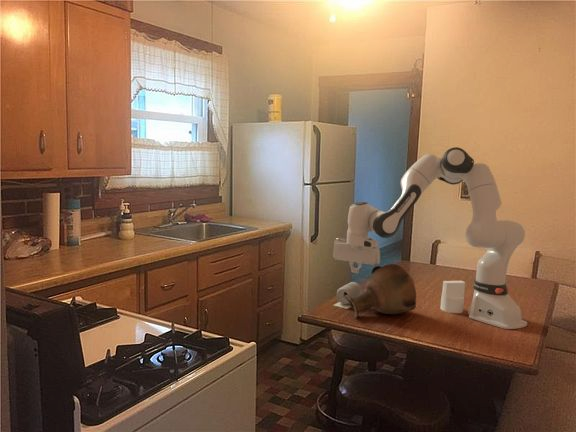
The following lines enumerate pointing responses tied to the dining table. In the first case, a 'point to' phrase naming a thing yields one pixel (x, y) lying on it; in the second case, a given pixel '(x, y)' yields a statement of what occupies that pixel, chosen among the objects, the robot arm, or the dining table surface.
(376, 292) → the jug
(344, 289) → the can
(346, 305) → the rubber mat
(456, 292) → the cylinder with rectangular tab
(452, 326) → the dining table surface
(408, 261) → the dining table surface
